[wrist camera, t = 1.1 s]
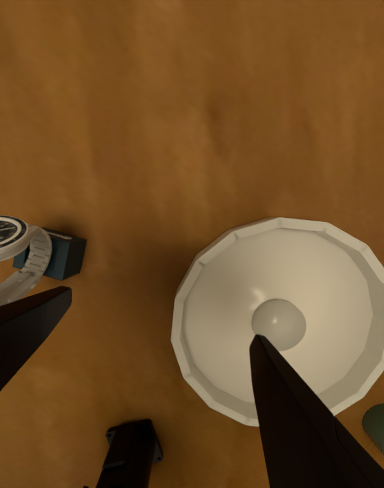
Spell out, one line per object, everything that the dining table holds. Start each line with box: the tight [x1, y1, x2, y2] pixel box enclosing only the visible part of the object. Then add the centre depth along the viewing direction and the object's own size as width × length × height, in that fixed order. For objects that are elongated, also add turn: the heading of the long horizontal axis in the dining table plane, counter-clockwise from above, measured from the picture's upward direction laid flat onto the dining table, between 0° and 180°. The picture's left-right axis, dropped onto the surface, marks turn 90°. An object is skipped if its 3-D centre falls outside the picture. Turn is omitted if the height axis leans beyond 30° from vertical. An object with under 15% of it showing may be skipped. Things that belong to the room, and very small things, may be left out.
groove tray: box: [171, 217, 384, 427], centre depth 22 cm, size 25×25×3 cm
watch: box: [0, 215, 86, 306], centre depth 18 cm, size 6×8×11 cm
